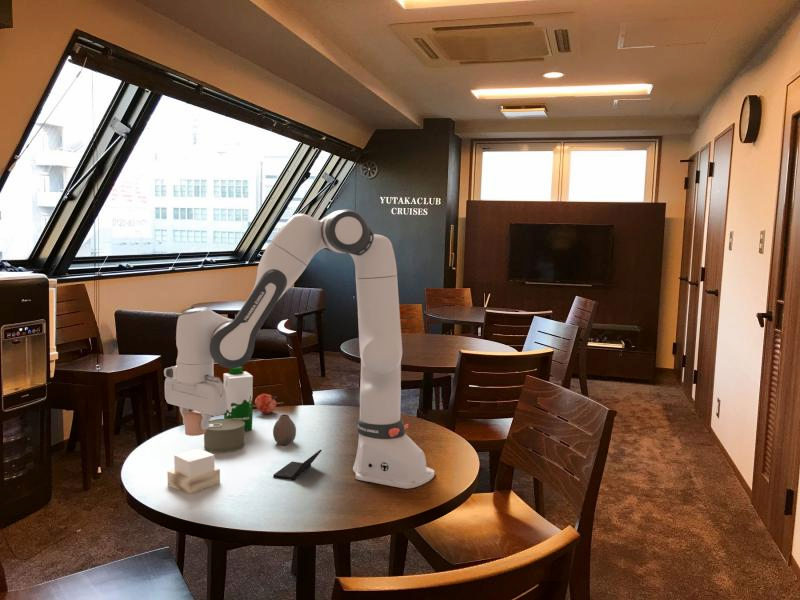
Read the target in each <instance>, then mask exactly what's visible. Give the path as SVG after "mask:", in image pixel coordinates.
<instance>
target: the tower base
mask: <svg viewBox="0 0 800 600" xmlns="http://www.w3.org/2000/svg"><path fill="white" fill-rule="evenodd" d="M166 474H167V486H168V485H170V486H169V487H171V486H172V487H171V488H173V487H174V489H176V488H177V490H179V491H181V492H183V493H187V494H189V495H191V493H192V494H195V493H197V492H199V490H200V491H202V490H205V489H207V487H208V488H210V487H212V485H213V486H215V485H219V484H220V483H221V469H220V468H218V467H215V470H213V471H210V472H207V473H204V474H200V475H197V476H194V477H191V478H189V477H187V476H185V475H183V474H181V473H179V472H177V471H175V468H174V469H170V470H168V471H167V473H166ZM209 486H210V487H209ZM204 488H205V489H204ZM201 489H202V490H201ZM196 491H197V492H196Z"/></svg>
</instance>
